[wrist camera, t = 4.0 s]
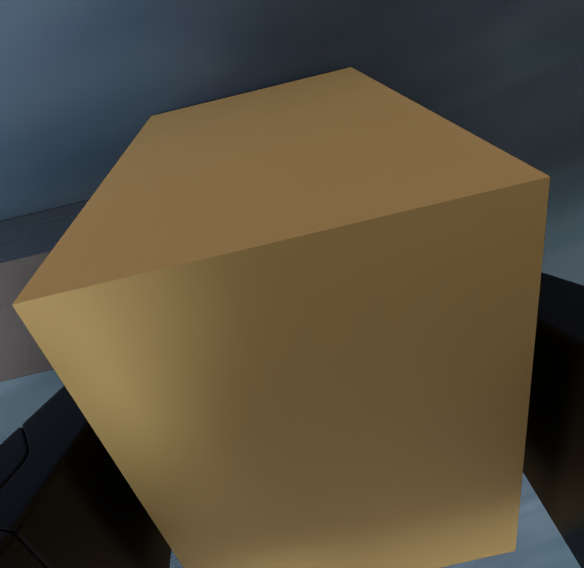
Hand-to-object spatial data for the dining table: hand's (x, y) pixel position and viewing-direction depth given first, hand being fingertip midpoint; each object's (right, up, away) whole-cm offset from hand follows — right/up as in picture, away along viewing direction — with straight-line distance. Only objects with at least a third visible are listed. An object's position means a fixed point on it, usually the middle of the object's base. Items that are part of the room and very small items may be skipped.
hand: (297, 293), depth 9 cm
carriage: (0, +2, +4) cm, 4 cm away
